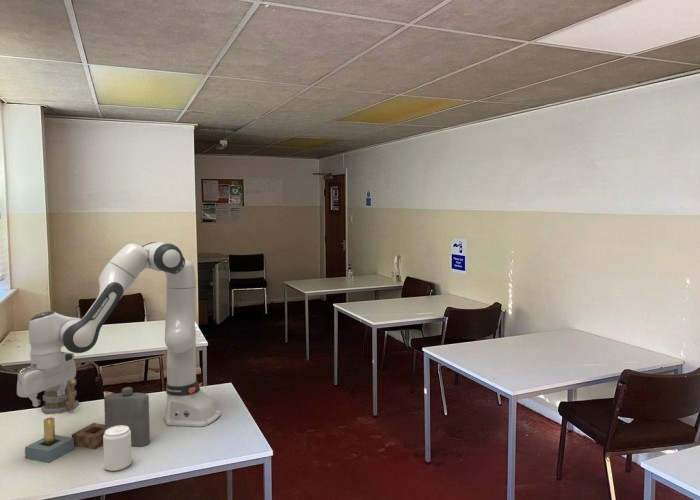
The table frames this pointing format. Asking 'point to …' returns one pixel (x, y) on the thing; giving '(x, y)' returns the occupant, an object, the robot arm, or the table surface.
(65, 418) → the table surface
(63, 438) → the slate socket block
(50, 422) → the brass peg
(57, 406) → the tankard
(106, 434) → the beverage can
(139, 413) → the flask
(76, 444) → the walnut mount
